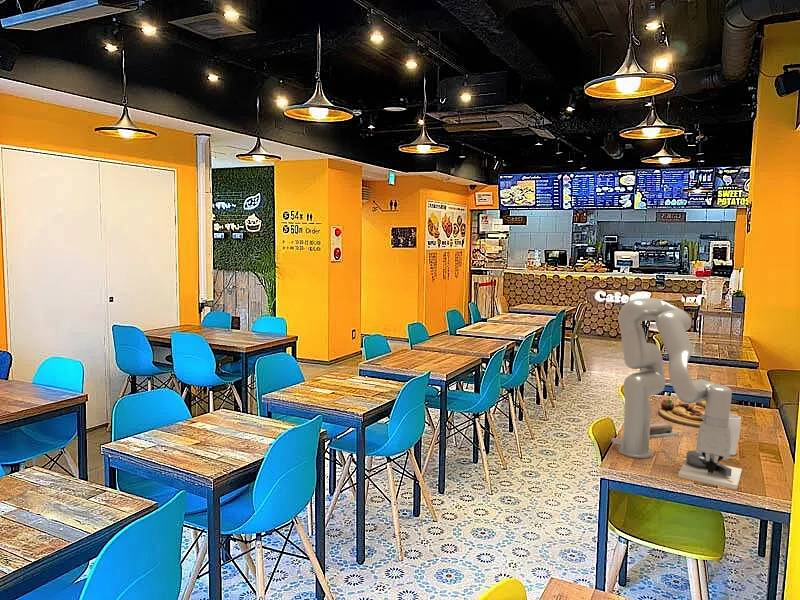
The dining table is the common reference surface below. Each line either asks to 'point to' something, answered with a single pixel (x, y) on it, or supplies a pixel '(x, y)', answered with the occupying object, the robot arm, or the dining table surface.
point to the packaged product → (661, 430)
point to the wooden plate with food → (683, 412)
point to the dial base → (711, 476)
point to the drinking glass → (734, 432)
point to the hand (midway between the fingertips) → (710, 471)
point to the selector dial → (700, 462)
